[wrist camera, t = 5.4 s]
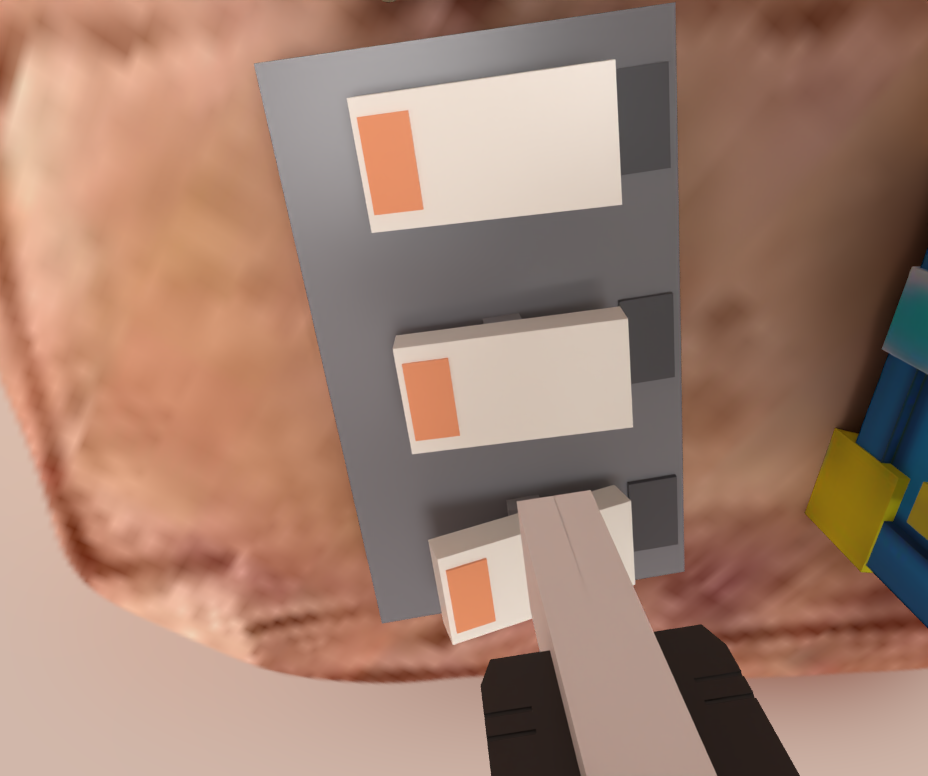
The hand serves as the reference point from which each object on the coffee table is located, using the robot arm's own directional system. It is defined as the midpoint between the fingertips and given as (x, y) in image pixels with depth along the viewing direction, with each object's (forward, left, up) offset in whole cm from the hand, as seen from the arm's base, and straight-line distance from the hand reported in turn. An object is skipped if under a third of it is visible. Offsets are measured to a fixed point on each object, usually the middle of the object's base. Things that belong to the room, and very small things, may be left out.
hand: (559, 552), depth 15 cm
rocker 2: (0, 0, -9) cm, 9 cm away
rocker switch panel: (0, 0, -14) cm, 14 cm away
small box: (0, +7, -9) cm, 11 cm away
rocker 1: (0, -7, -9) cm, 11 cm away
